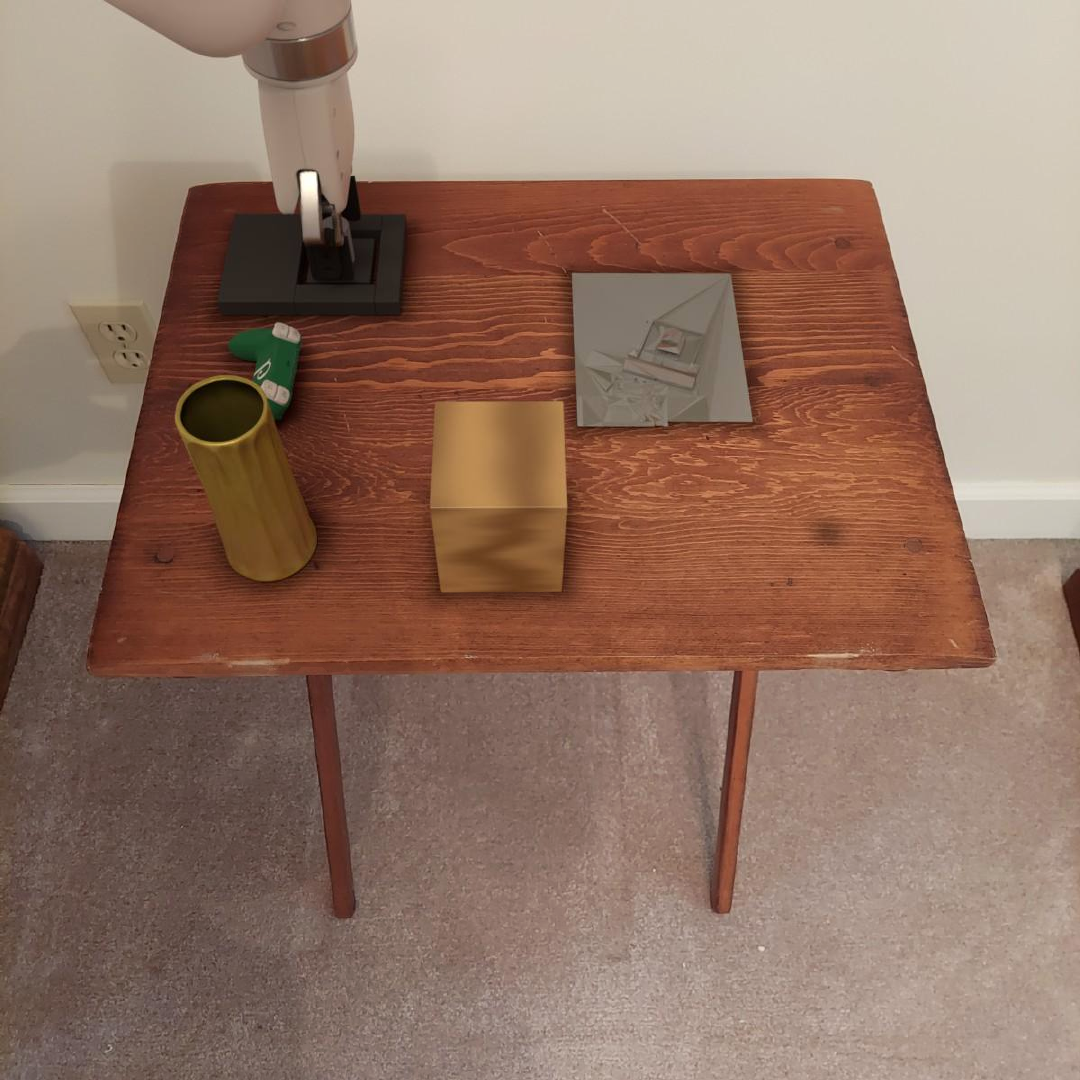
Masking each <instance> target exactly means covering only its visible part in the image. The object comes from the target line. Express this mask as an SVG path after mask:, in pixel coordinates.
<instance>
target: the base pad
mask: <svg viewBox="0 0 1080 1080" xmlns="http://www.w3.org/2000/svg"><path fill="white" fill-rule="evenodd" d="M322 221H323V220H322ZM348 223H349V228H350V233H351V238H371V239H375V243H376V244H379V249H378V250H379V251H378V259H377V270H376V280H375V284H372V285H307V284H302V283H303V277H304V270H305V262H306V257H307V252H306V248H305V244H304V242H303V230H302V221H301V214H300V213H294V214H287V215H285V214H283V213H234V217H233V221H232V226H231V230H230V236H229V240H228V246H227V252H226V255H225V259H224V260H225V261H224V265H223V270H222V275H221V280H220V285H219V289H218V295H217V299H216V303H217V306H218V309H219V313H220V316H222V317H223V316H225V317H227V316H230V317H231V316H233V317H234V316H237V317H238V316H400V315H401V314H402V302H403V300H402V299H403V287H404V275H405V260H406V249H407V235H408V224H407V215H406V214H405V213H404V214H403V213H386V214H385V213H383V214H382V213H379V214H378V213H376V214H375V213H373V214H372V213H370V214H369V213H361V217H360V220H358V221H348Z"/></svg>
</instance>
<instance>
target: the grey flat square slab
mask: <svg viewBox="0 0 1080 1080" xmlns="http://www.w3.org/2000/svg"><path fill="white" fill-rule="evenodd" d="M732 281H733V280H732V274H731V273H673V272H671V273H669V272H665V273H663V272H662V273H659V272H658V273H650V272H649V273H648V272H647V273H644V272H640V273H639V272H638V273H637V272H633V273H632V272H571V287H572V288H571V289H572V313H573V316H572V317H573V340H574V342H573V343H574V367H575V368H574V370H575V394H576V395H575V396H576V398H575V399H576V420H577V421H576V424H577V427H656V426H661V427H669V423H754V421H753V413H752V407H751V402H750V401H751V399H750V395H749V388H748V380H747V374H746V367H745V361H744V354H743V347H742V341H741V335H740V326H739V320H738V314H737V313H738V312H737V307H736V300H735V294H734V288H733V287H734V286H733V282H732ZM827 534H829V532H827Z"/></svg>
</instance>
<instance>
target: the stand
mask: <svg viewBox="0 0 1080 1080" xmlns="http://www.w3.org/2000/svg"><path fill="white" fill-rule="evenodd" d="M433 409H434V411H433V429H432V449H431V451H432V452H431V471H430V491H429V492H430V493H429V513H430V520H431V528H432V536H433V543H434V550H435V559H436V566H437V574H438V582H439V589H440V590H439V591H440V593H555V592H556V593H561V592H562V591H563V582H564V567H565V566H564V565H565V551H566V536H567V533H566V532H567V521H568V520H567V518H568V488H567V487H568V486H567V456H566V455H567V453H566V432H565V431H566V427H565V403H564V400H563V401H562V400H549V401H548V400H540V401H538V400H532V401H531V400H529V401H525V400H523V401H521V400H520V401H519V400H518V401H515V400H513V401H512V400H511V401H508V400H505V401H503V400H501V401H500V400H499V401H495V400H493V401H492V400H491V401H490V400H489V401H486V400H485V401H484V400H483V401H481V400H480V401H475V400H474V401H434V408H433Z"/></svg>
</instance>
